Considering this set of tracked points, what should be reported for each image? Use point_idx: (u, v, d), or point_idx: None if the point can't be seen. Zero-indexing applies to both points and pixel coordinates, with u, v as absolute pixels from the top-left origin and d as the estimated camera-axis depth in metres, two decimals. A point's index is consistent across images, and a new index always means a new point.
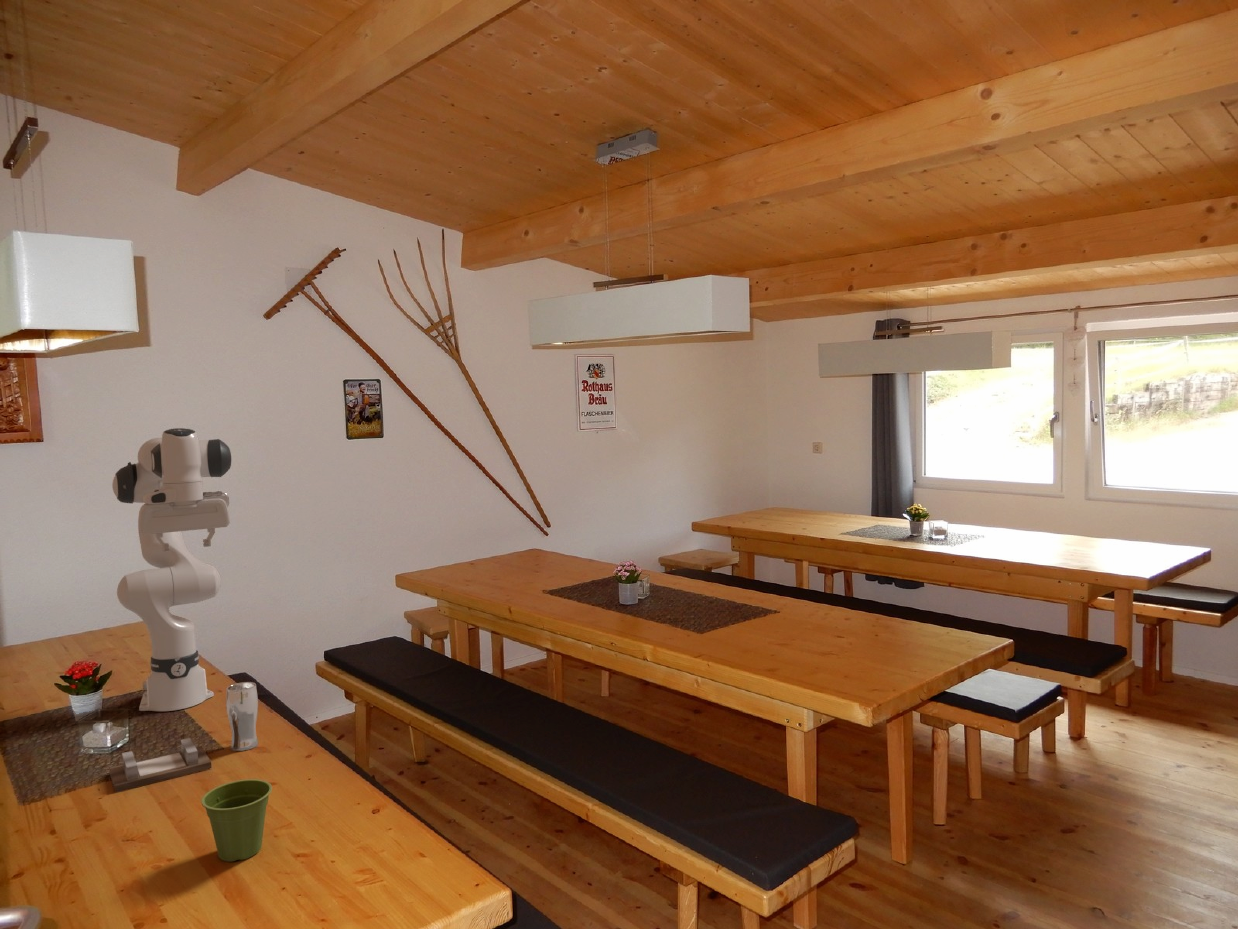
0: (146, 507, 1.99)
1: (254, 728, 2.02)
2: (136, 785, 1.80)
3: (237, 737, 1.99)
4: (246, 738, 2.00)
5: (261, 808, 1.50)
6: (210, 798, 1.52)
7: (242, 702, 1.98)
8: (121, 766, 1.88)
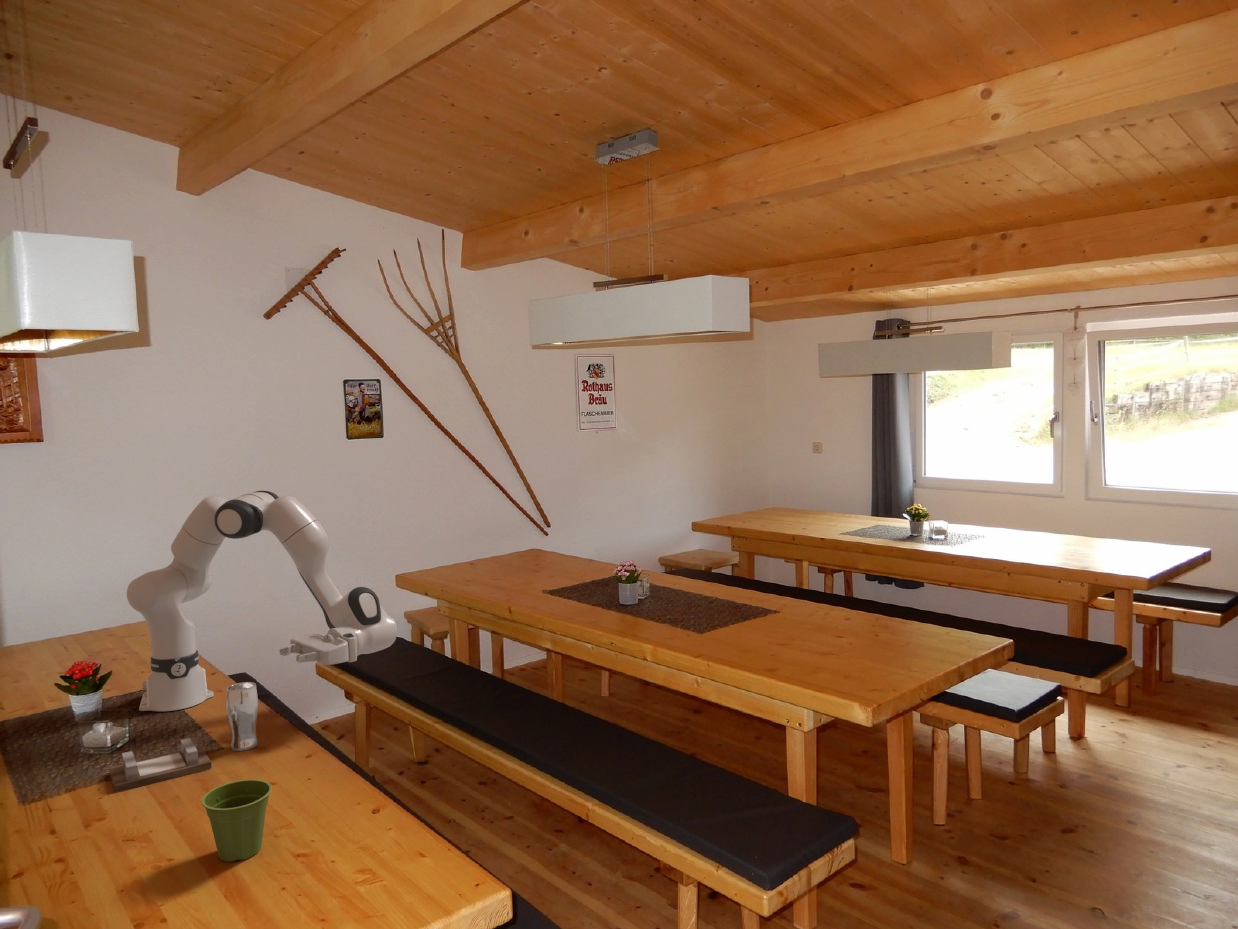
0: (347, 660, 2.12)
1: (254, 728, 2.02)
2: (136, 785, 1.80)
3: (237, 737, 1.99)
4: (246, 738, 2.00)
5: (261, 808, 1.50)
6: (210, 798, 1.52)
7: (242, 702, 1.98)
8: (121, 766, 1.88)
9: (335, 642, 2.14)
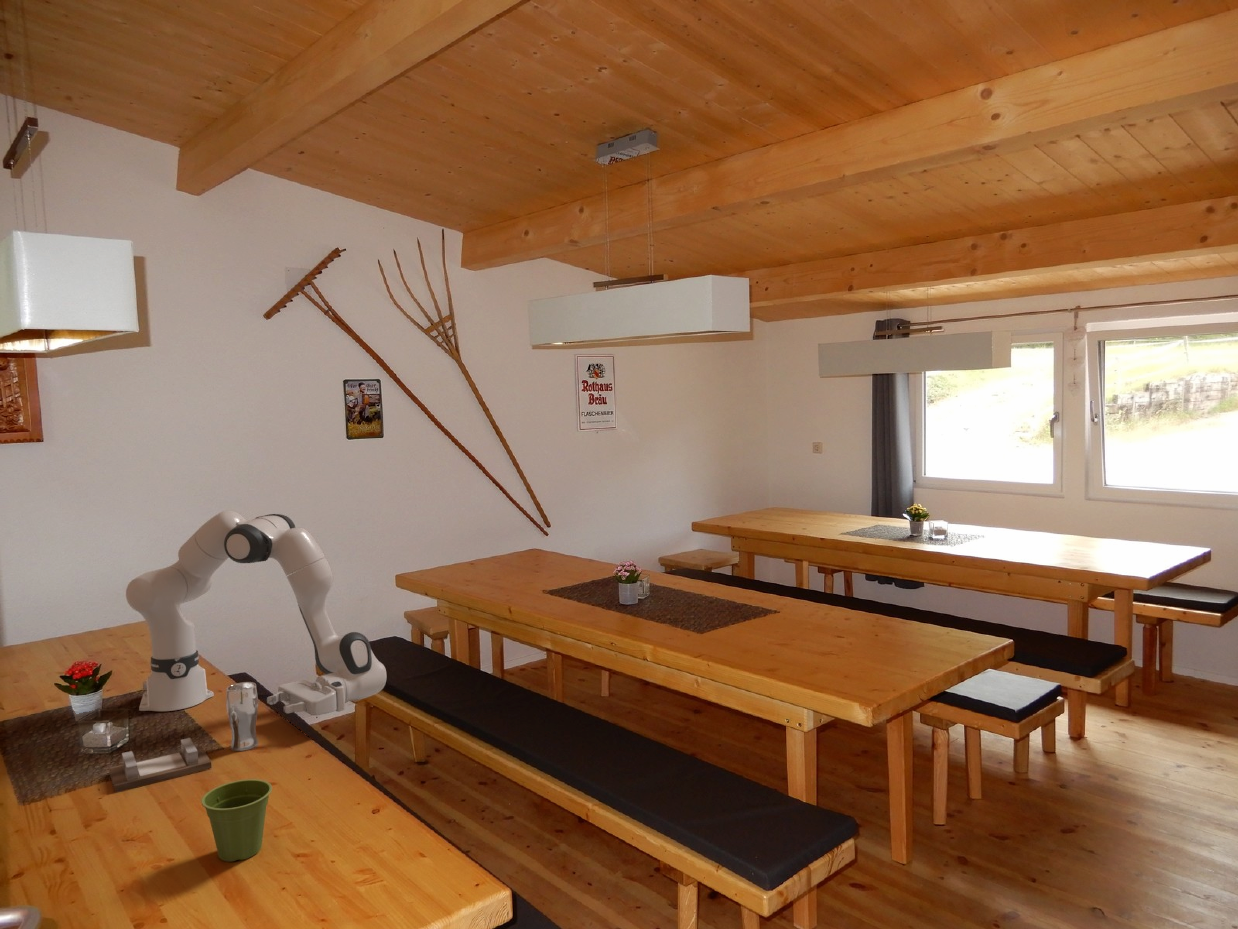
0: None
1: (254, 728, 2.02)
2: (136, 785, 1.80)
3: (237, 737, 1.99)
4: (246, 738, 2.00)
5: (261, 808, 1.50)
6: (210, 798, 1.52)
7: (242, 702, 1.98)
8: (121, 766, 1.88)
9: (323, 691, 2.12)
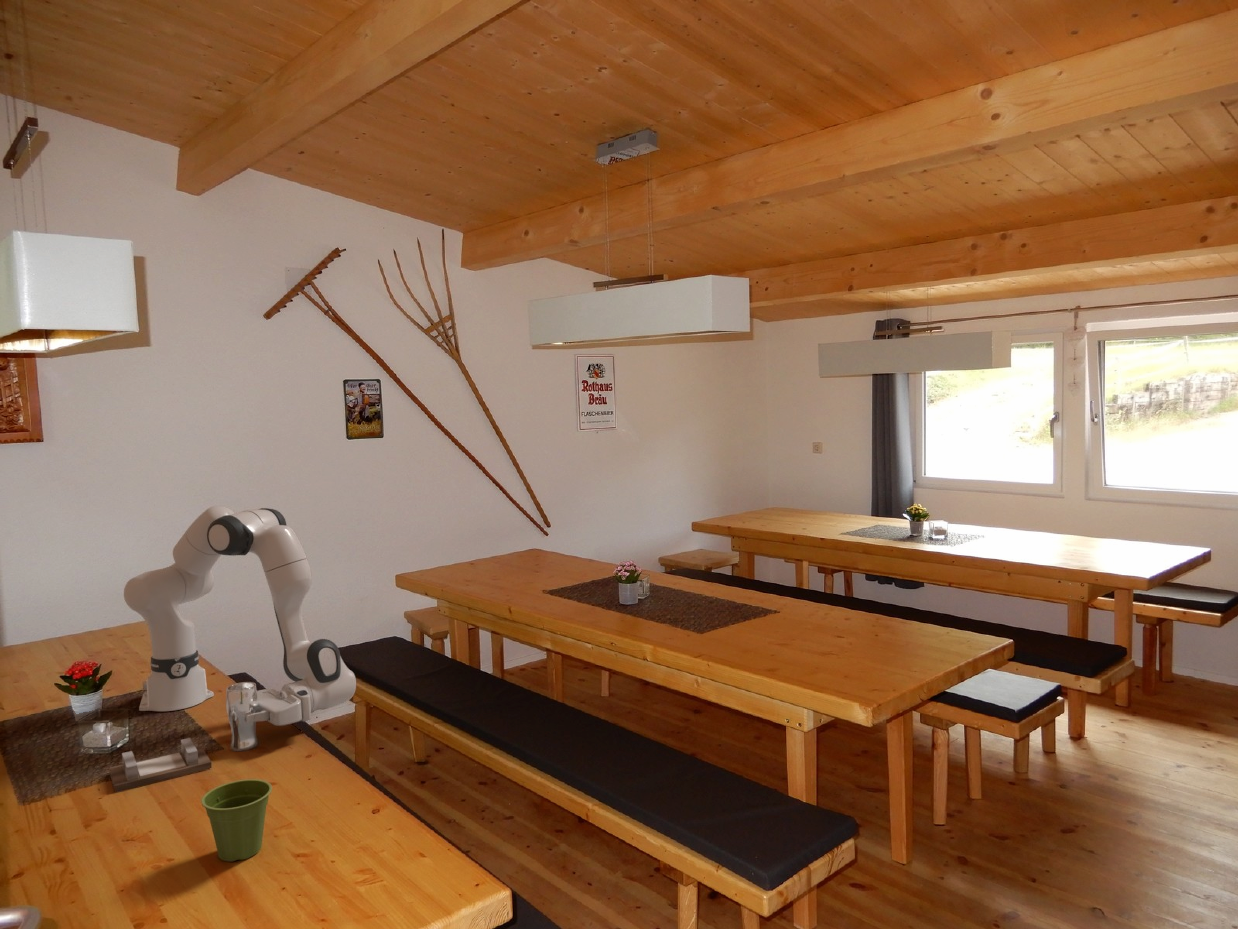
0: None
1: (254, 728, 2.02)
2: (136, 785, 1.80)
3: (237, 737, 1.99)
4: (246, 738, 2.00)
5: (261, 808, 1.50)
6: (209, 798, 1.52)
7: (242, 702, 1.98)
8: (121, 766, 1.88)
9: (288, 700, 2.05)
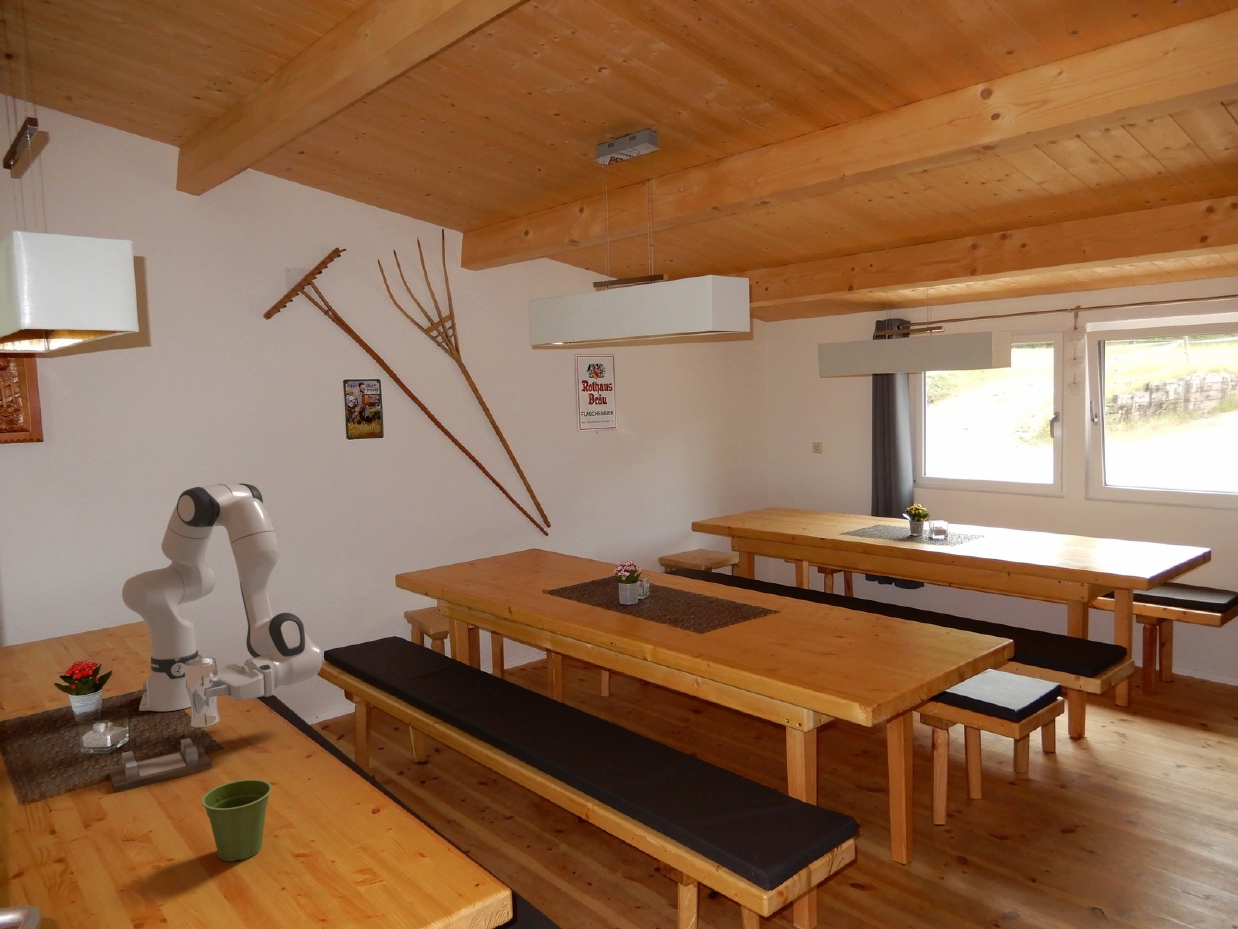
0: (262, 695, 1.97)
1: (215, 704, 1.95)
2: (136, 785, 1.80)
3: (197, 714, 1.92)
4: (206, 714, 1.93)
5: (261, 808, 1.50)
6: (210, 798, 1.52)
7: (201, 677, 1.91)
8: (121, 766, 1.88)
9: (250, 675, 1.98)
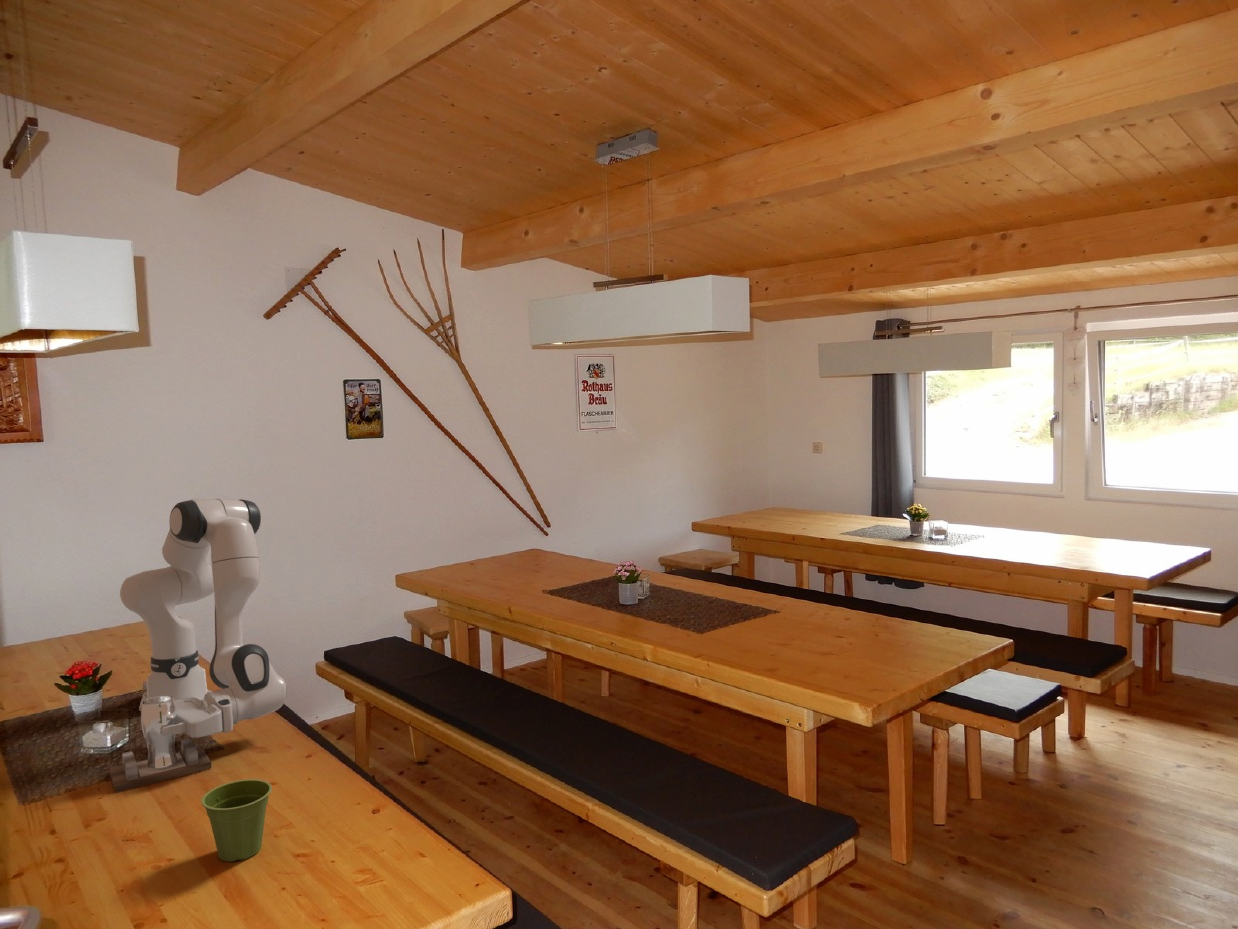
0: (220, 731, 1.90)
1: (172, 745, 1.88)
2: (136, 785, 1.80)
3: (153, 755, 1.85)
4: (163, 755, 1.86)
5: (261, 808, 1.50)
6: (209, 798, 1.52)
7: (157, 717, 1.84)
8: (121, 766, 1.88)
9: (208, 710, 1.92)
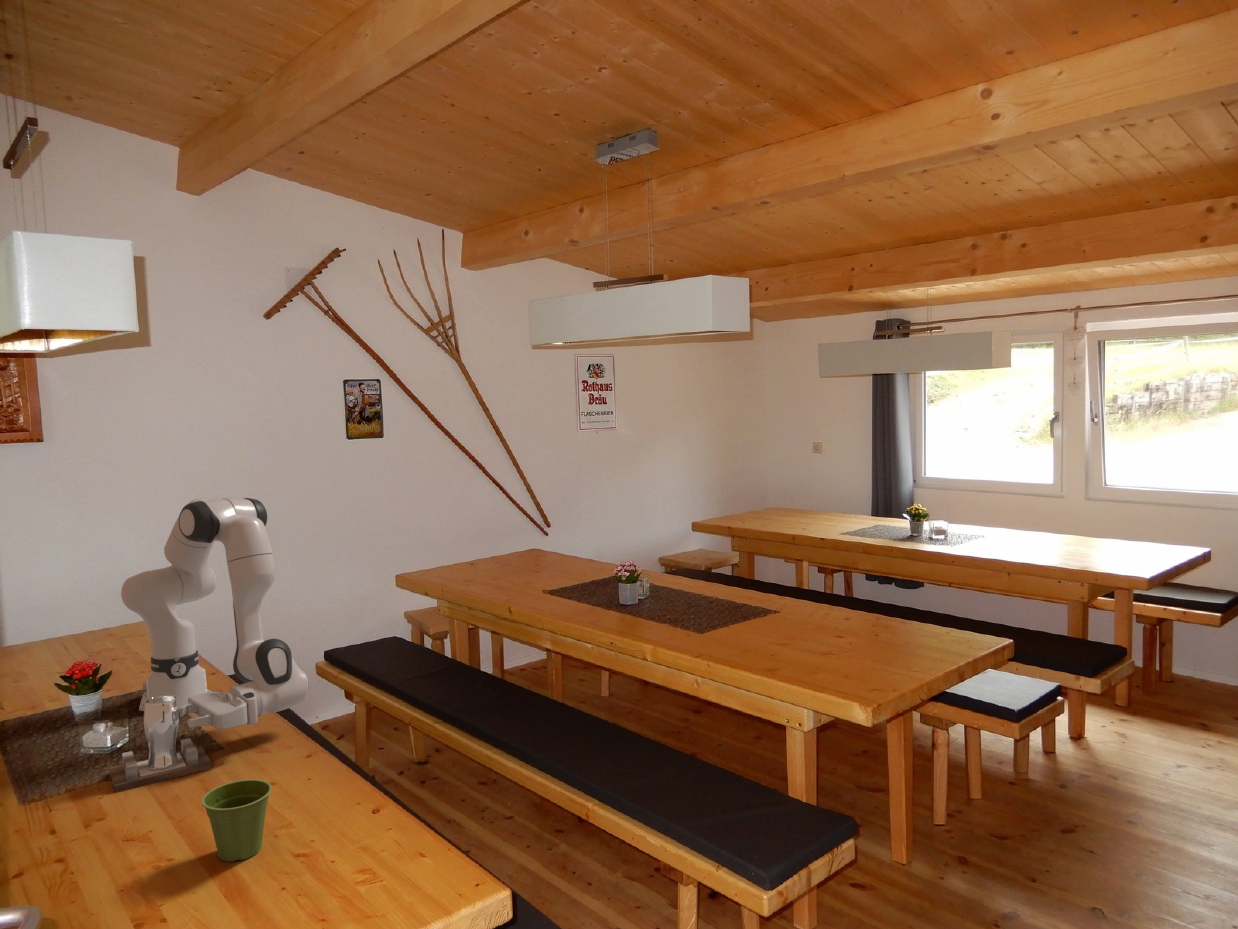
0: (245, 723, 1.94)
1: (174, 745, 1.88)
2: (136, 785, 1.80)
3: (154, 754, 1.85)
4: (164, 755, 1.86)
5: (261, 808, 1.50)
6: (210, 798, 1.52)
7: (160, 716, 1.85)
8: (121, 766, 1.88)
9: (234, 703, 1.96)
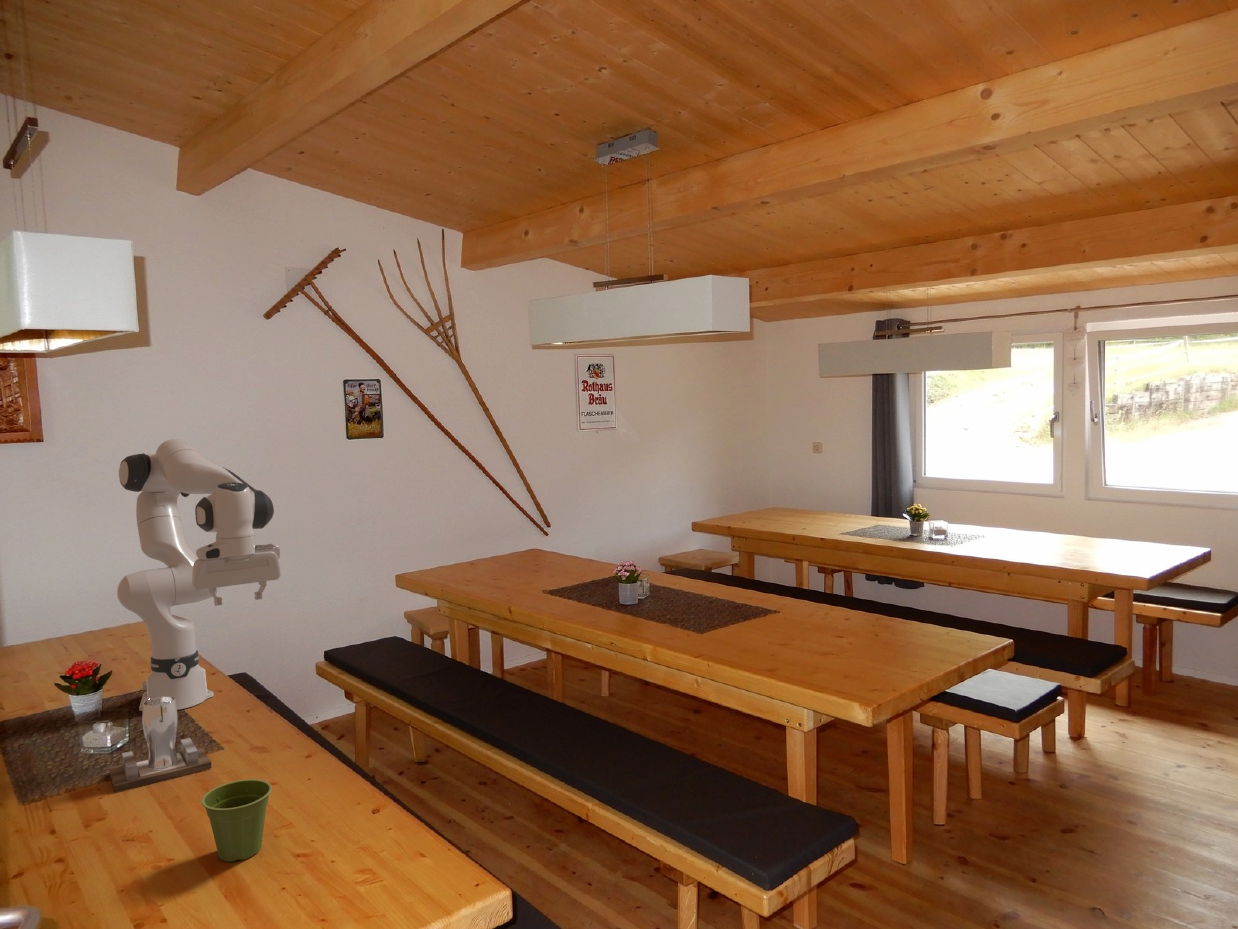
0: (201, 563, 2.00)
1: (173, 745, 1.88)
2: (136, 785, 1.80)
3: (154, 755, 1.85)
4: (163, 756, 1.86)
5: (261, 808, 1.50)
6: (209, 798, 1.52)
7: (159, 718, 1.84)
8: (121, 766, 1.88)
9: None
